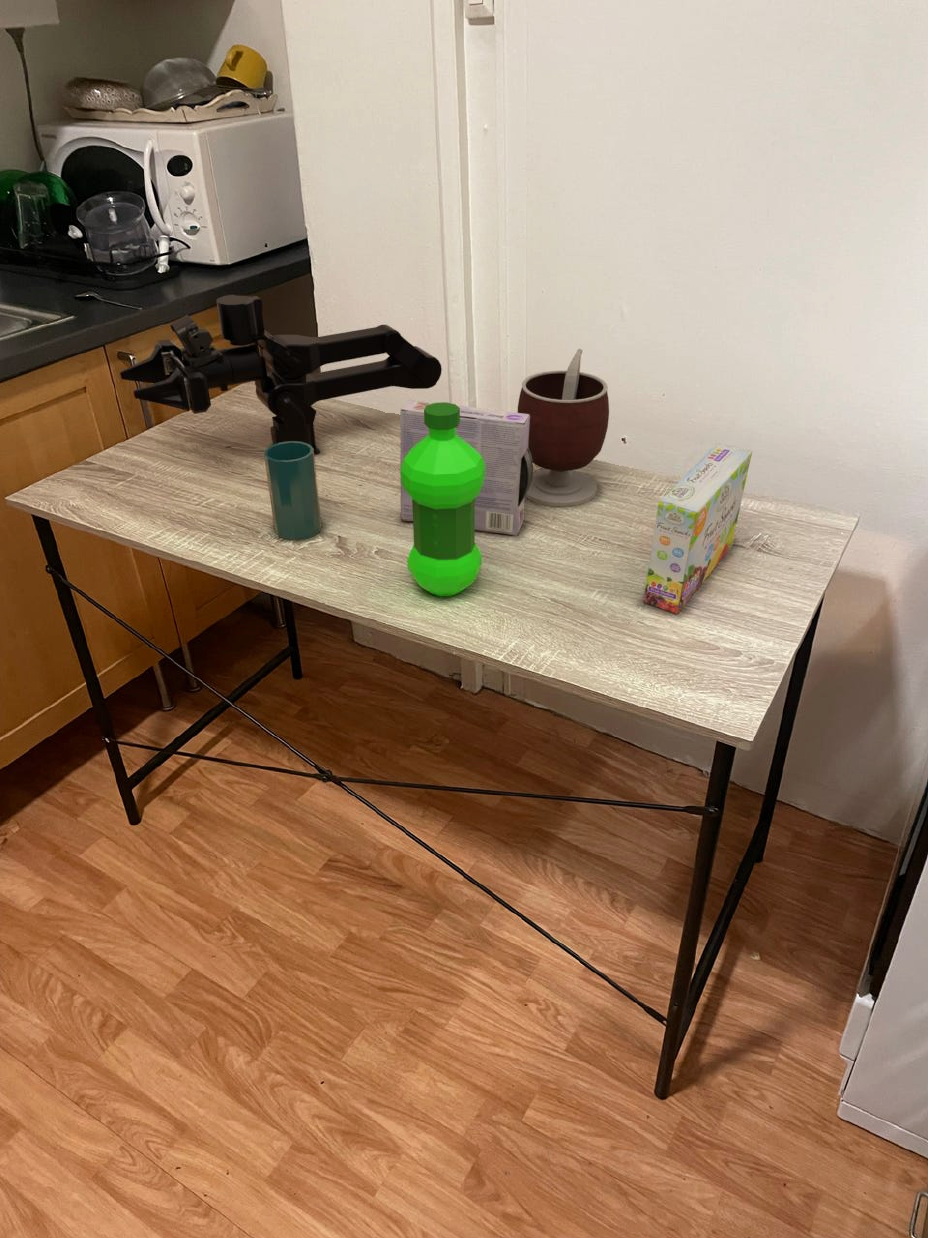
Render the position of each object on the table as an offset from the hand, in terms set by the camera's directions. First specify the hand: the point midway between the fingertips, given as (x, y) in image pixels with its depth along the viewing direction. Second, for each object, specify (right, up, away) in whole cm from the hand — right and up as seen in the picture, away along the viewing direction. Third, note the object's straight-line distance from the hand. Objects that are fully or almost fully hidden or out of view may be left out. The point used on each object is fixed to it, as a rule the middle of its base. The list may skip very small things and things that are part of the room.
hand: (127, 384), depth 140 cm
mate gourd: (+67, -15, +8) cm, 69 cm away
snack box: (+82, -30, -14) cm, 89 cm away
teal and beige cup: (+27, -22, -3) cm, 35 cm away
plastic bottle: (+49, -31, -16) cm, 60 cm away
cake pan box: (+52, -21, -2) cm, 56 cm away
